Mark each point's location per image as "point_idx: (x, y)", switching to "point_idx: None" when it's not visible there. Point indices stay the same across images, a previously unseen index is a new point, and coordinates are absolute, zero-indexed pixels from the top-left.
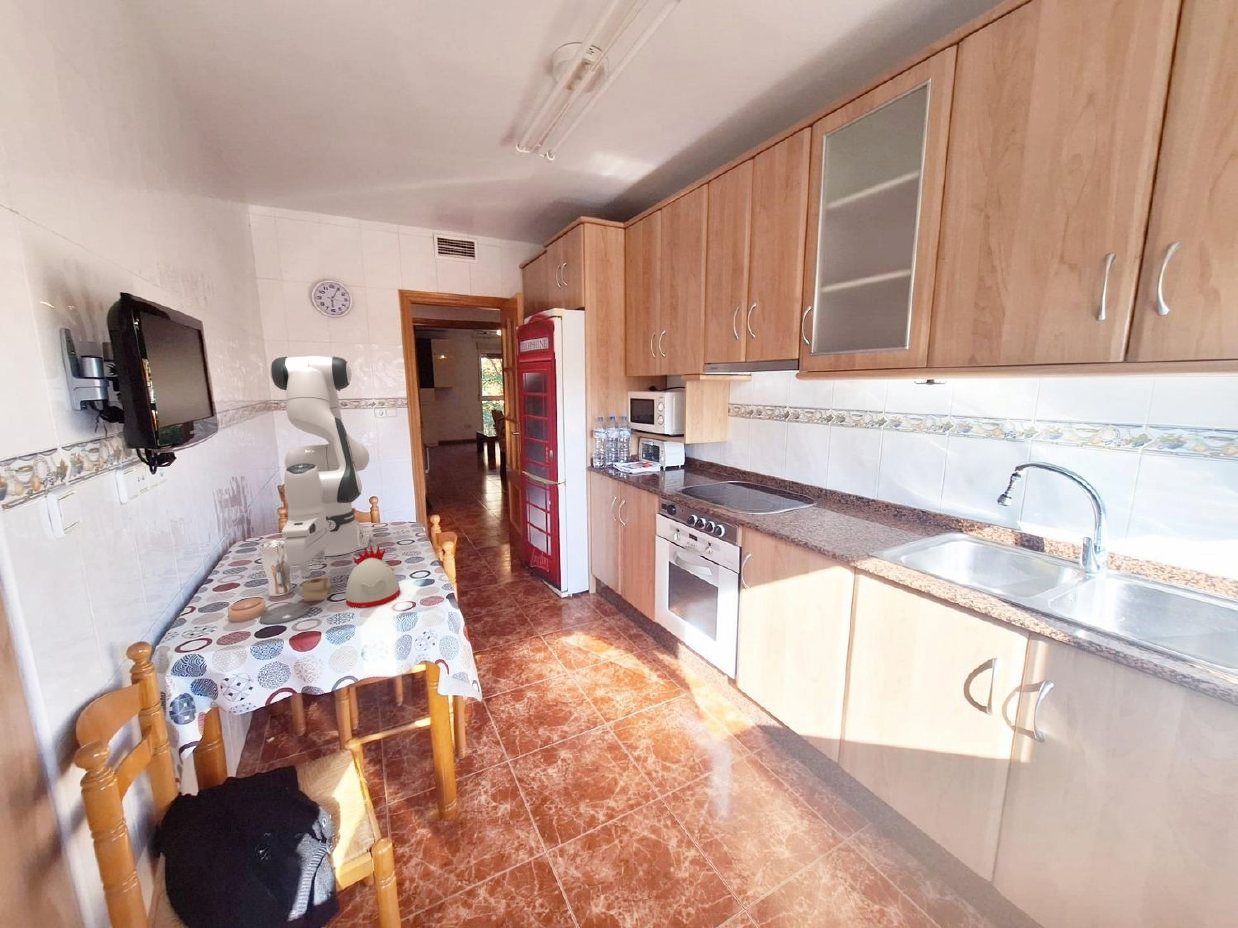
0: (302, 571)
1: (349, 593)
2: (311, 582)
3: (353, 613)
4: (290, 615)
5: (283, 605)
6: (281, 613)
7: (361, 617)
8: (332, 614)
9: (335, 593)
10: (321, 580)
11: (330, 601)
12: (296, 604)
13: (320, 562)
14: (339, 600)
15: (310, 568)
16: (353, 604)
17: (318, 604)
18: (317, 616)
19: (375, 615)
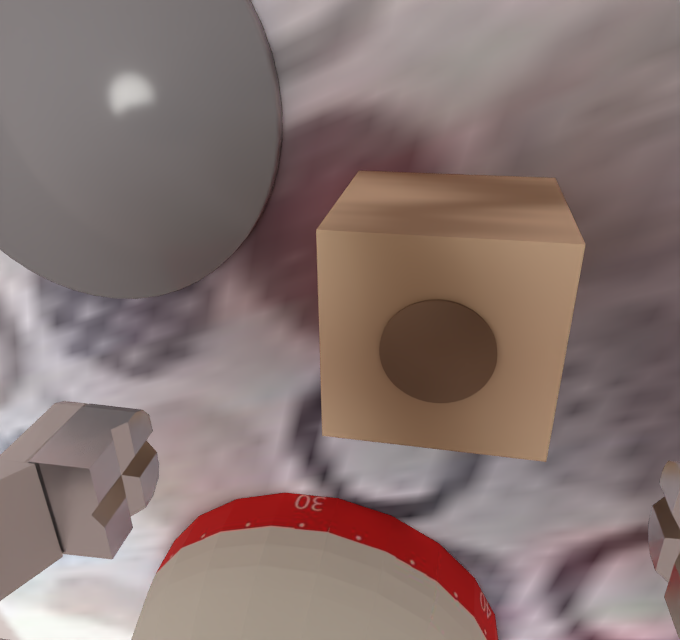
0: (11, 459)
1: (158, 607)
2: (377, 320)
3: None
4: (19, 184)
5: (226, 4)
6: (51, 78)
7: (48, 584)
8: None
9: None
10: (416, 414)
11: (303, 394)
12: (235, 145)
13: (667, 540)
14: (309, 450)
15: (110, 553)
16: (163, 561)
17: (259, 320)
18: (55, 368)
19: (71, 634)
